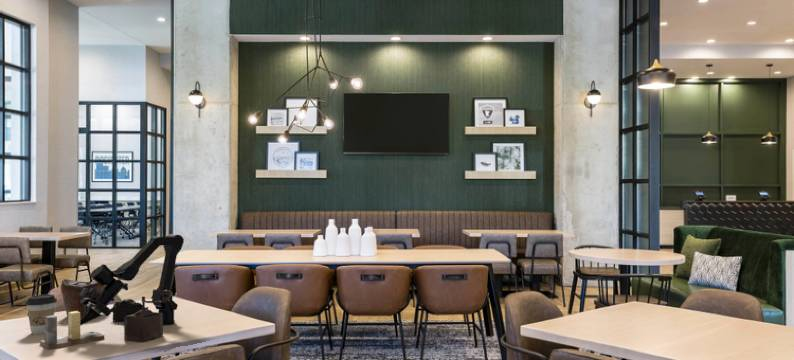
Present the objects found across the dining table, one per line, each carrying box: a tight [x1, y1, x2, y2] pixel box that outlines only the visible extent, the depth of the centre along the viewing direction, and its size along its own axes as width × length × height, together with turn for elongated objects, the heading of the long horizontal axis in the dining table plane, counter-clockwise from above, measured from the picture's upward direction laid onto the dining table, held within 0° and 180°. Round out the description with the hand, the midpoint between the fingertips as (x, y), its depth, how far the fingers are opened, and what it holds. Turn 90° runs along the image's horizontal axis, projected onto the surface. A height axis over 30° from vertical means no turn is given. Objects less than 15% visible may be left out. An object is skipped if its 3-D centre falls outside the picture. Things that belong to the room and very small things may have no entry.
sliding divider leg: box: [67, 311, 81, 340], centre depth 218 cm, size 3×8×10 cm, turn 47°
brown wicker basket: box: [60, 278, 106, 319], centre depth 267 cm, size 18×20×18 cm
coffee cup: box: [25, 293, 58, 335], centre depth 234 cm, size 11×11×15 cm
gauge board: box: [39, 314, 105, 350], centre depth 218 cm, size 20×10×12 cm, turn 137°
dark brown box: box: [123, 290, 173, 343], centre depth 225 cm, size 16×11×18 cm
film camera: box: [110, 298, 149, 323], centre depth 254 cm, size 18×12×10 cm
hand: (79, 324), depth 218 cm, fingers closed
